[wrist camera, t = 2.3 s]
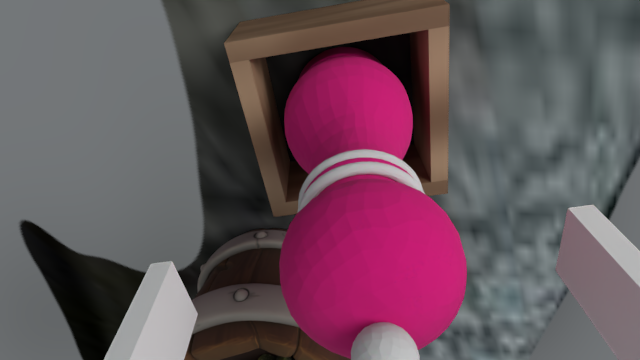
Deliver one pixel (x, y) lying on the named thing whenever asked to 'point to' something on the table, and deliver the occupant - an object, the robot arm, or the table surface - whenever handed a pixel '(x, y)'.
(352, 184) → the pepper mill
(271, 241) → the flowerpot
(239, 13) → the table surface
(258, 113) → the wooden box
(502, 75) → the table surface
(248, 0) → the table surface
